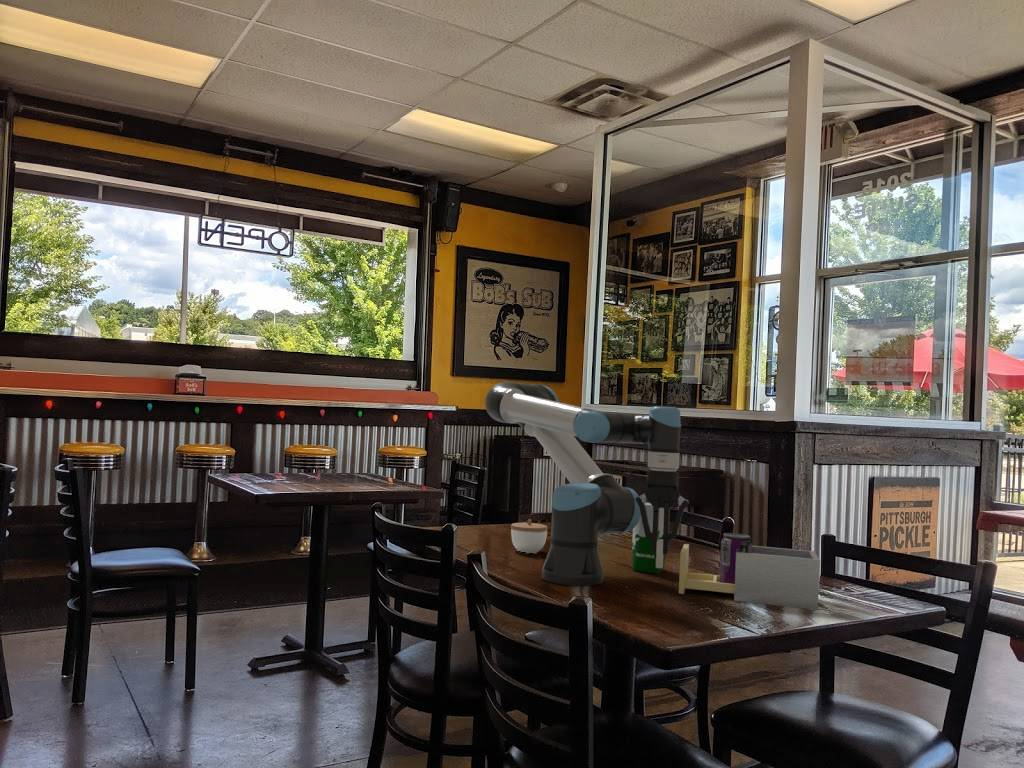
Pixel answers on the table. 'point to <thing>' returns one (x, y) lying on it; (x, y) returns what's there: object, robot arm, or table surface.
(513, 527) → the lidded jar
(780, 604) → the grey open box
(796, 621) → the table surface
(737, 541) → the beverage can
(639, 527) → the milk carton
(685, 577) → the rack
